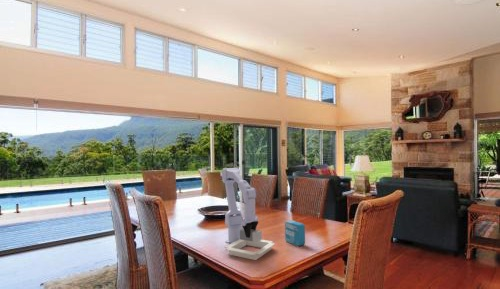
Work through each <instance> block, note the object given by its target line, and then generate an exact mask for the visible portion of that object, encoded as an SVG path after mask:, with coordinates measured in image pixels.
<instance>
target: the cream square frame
mask: <svg viewBox="0 0 500 289" xmlns="http://www.w3.org/2000/svg"><path fill="white" fill-rule="evenodd" d="M275 245H276V243H274V241H272V240H267V239H262V240H261V241H259V242H252V241H247V240H241V239H239V240H237V241H235V242H233V243H229V244H228V245H225V247H224V248H225V250H226V251H228V255H229V256H235V257H239V258H244V259H249V260H252V261H253V260H254V261H257V260H258V259H259V258H261V257H262V256H264V255H265V254H267V253H268V252H270V251H271V250H272V247H273V246H275ZM245 246H250V247H255V248H260V249H258V250H257V251H250V250H244V249H242V248H245Z"/></svg>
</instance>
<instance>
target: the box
mask: <svg viewBox="0 0 500 289" xmlns="http://www.w3.org/2000/svg"><path fill="white" fill-rule="evenodd" d="M240 239H241V240H247V241H252V242H259V241H261V240H263V239H262V230H259V229H256V230H254V229H251V233H250V238H248V237H246V235H245V231H244V229H241V230H240Z"/></svg>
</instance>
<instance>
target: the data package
mask: <svg viewBox="0 0 500 289" xmlns="http://www.w3.org/2000/svg"><path fill="white" fill-rule="evenodd" d="M284 234H285V236H284V237H285V238H284V239H285V241H286V243H290V244H292V245H294V246H297V247H301V246H303V245H306V226H305V224H304V223H302V222H299V221H295V220H287V221H285V223H284Z"/></svg>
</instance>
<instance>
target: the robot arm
mask: <svg viewBox="0 0 500 289" xmlns="http://www.w3.org/2000/svg"><path fill="white" fill-rule="evenodd" d="M222 168H223V169H221V180H222V183H224V186H225V194H226V200H227V206H228V207H227V208H228V211H227V212H226V213H225V215H224V217H225V218H224V223H225V224H224V225H225V226H226V227H227V228H228V230H227V231H228V233H227V234H228V239H227V240H226V241H225V243H229V244H231V243H233V242H235V241H237V240H239V239H240V230H241V229H244V231H245V235H246V237H248V238H250V233H251V229H254V230H257V226H258V224H259V221H258V220H259V216H258V215H256V199H257V197H258V191H257V189H256V188H255V187H252V186H251V185H250V184H249V182H248V181H247V180H244V179H243V177H242V176H241V170H240V169H239V168H238V167H226V168H225V167H222ZM235 182H236V183H237V187H238V189H239V191H240V192H241V194H242V199H243V203H244V217H243V215H242V212H241V211H240V210H239V209H238V206H237V201H236V195H235V194H236V193H235V188H234V183H235Z"/></svg>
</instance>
